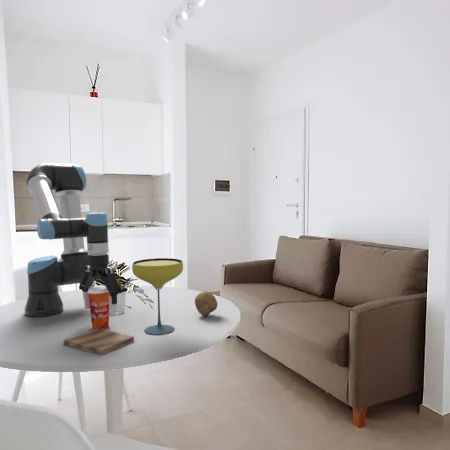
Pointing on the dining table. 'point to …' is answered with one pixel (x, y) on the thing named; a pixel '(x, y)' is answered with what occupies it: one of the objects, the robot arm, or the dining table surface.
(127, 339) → the walnut board
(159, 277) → the cocktail glass
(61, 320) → the dining table surface
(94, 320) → the coffee cup
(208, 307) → the natural sponge
